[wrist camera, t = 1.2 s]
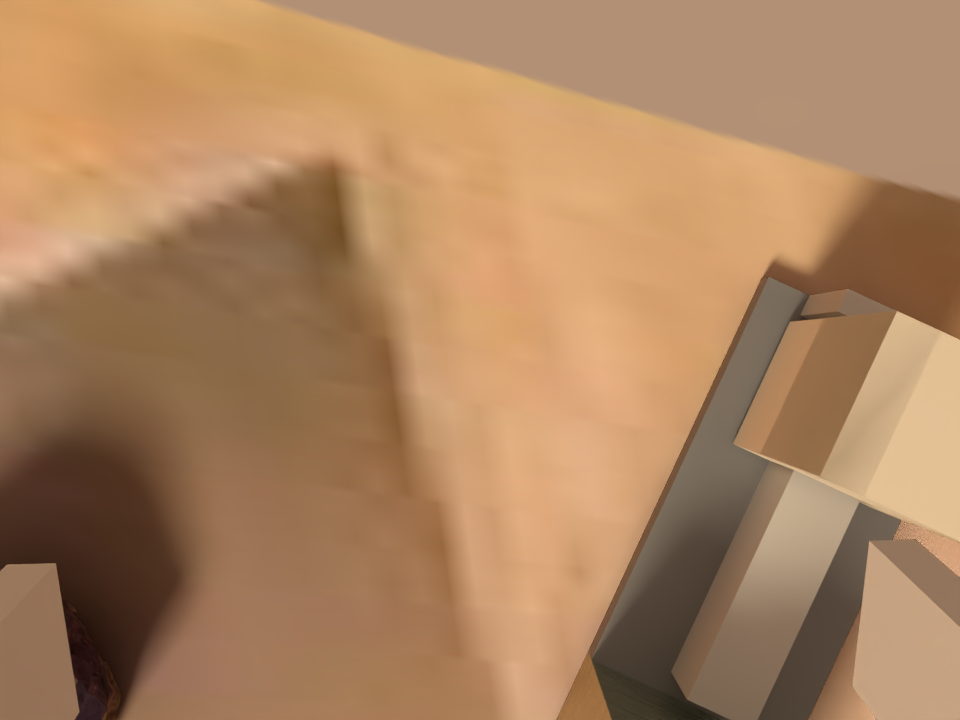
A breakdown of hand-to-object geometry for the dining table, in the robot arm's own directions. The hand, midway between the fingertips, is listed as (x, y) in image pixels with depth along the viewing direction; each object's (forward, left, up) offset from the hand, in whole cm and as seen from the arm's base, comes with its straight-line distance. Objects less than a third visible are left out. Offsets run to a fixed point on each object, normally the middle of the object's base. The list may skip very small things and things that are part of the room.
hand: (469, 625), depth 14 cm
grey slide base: (-13, -3, -25) cm, 29 cm away
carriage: (-13, -8, -24) cm, 28 cm away
